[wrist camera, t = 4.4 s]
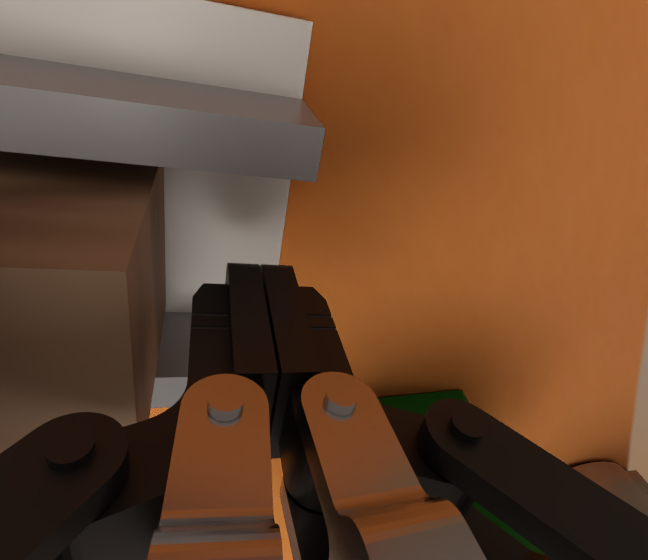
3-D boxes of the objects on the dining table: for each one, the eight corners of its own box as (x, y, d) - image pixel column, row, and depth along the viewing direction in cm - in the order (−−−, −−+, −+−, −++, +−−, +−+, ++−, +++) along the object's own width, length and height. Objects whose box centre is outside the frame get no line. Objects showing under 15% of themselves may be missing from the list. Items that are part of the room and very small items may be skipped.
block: (163, 150, 11) (126, 271, 6) (166, 305, 14) (140, 475, 9) (-68, 125, 10) (-335, 255, 5) (-18, 301, 13) (-163, 499, 8)
